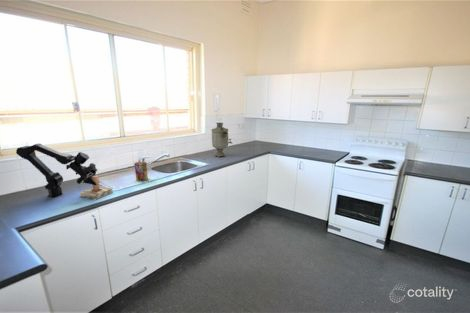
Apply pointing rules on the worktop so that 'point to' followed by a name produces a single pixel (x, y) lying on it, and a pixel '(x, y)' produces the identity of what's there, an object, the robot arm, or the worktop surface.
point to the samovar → (220, 139)
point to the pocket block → (95, 195)
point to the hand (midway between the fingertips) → (97, 183)
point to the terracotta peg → (96, 187)
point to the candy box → (141, 170)
